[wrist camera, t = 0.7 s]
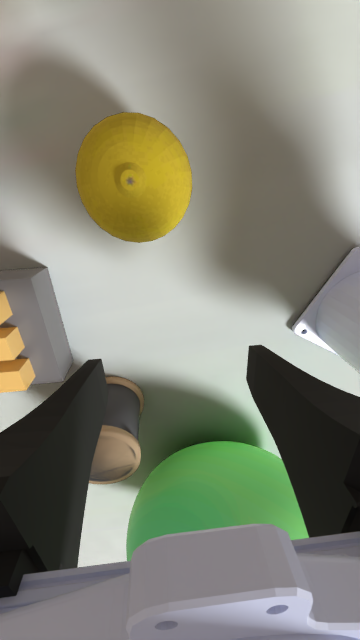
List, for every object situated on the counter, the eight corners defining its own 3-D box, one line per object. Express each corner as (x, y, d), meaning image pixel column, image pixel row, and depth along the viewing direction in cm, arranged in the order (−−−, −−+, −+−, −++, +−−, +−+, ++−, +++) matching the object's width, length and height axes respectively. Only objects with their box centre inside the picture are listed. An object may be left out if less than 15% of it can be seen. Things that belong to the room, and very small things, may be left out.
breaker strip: (-39, 272, 18) (-94, 293, 14) (48, 266, 18) (18, 285, 14) (1, 365, 22) (-34, 404, 18) (74, 358, 22) (56, 395, 18)
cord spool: (153, 388, 24) (153, 444, 18) (129, 428, 26) (122, 490, 20) (94, 367, 22) (75, 423, 17) (74, 412, 24) (50, 474, 19)
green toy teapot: (316, 430, 28) (458, 635, 15) (244, 516, 35) (299, 714, 21) (163, 391, 24) (174, 629, 11) (112, 497, 30) (79, 730, 17)
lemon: (99, 229, 17) (60, 253, 10) (93, 129, 15) (36, 69, 8) (180, 234, 18) (197, 260, 11) (186, 139, 16) (214, 91, 8)
